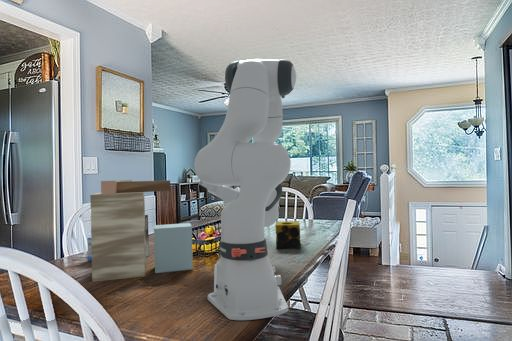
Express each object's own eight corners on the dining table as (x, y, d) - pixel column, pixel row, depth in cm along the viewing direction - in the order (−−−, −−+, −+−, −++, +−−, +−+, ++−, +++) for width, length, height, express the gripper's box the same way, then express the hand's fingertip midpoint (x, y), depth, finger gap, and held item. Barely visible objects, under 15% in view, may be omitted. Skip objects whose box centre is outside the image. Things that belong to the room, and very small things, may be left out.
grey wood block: (145, 276, 107) (143, 192, 108) (92, 281, 103) (90, 194, 103) (146, 265, 120) (144, 190, 120) (99, 270, 116) (97, 192, 116)
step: (192, 269, 114) (191, 226, 114) (155, 273, 111) (154, 228, 111) (190, 263, 122) (189, 223, 122) (155, 266, 118) (154, 225, 118)
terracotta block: (115, 193, 105) (115, 180, 105) (101, 194, 104) (100, 181, 104) (116, 193, 109) (116, 180, 109) (103, 193, 108) (102, 180, 108)
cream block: (132, 191, 116) (132, 179, 116) (120, 192, 114) (120, 180, 114) (130, 191, 119) (129, 179, 119) (118, 192, 117) (118, 180, 117)
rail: (170, 190, 115) (170, 180, 115) (108, 193, 109) (108, 182, 109) (170, 190, 118) (169, 180, 118) (109, 192, 112) (109, 182, 112)
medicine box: (87, 260, 129) (86, 237, 129) (97, 258, 133) (97, 235, 133) (101, 263, 126) (100, 239, 126) (111, 260, 130) (111, 237, 130)
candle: (300, 243, 150) (299, 220, 150) (301, 249, 140) (300, 224, 140) (276, 244, 151) (276, 221, 151) (275, 249, 141) (275, 224, 141)
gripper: (233, 190, 133) (201, 173, 130) (246, 193, 113) (209, 174, 110) (226, 205, 132) (193, 188, 129) (238, 211, 113) (200, 191, 109)
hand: (201, 181), depth 119 cm, fingers open, 8 cm apart
